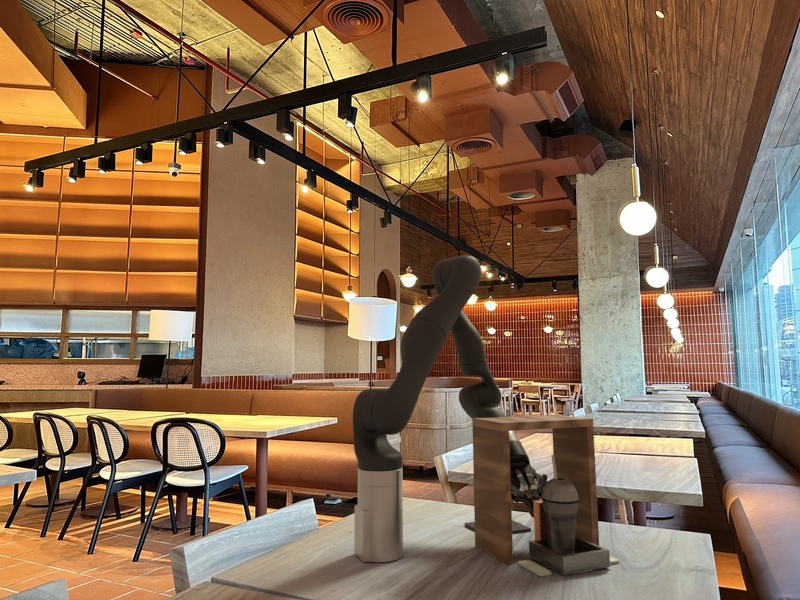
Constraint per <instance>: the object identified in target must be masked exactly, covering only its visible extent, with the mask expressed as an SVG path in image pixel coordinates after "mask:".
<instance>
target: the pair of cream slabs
mask: <svg viewBox="0 0 800 600" xmlns="http://www.w3.org/2000/svg"><path fill="white" fill-rule="evenodd" d="M620 563H621V561H620V559H617V558H615V557H614V556H611V555H610V566H611V565H614V564H615V565H616V564H620ZM517 564H518V565H519V566H521V567H523V568H525V569H526V570H528V571H530V572H531V573H533V574H535V575H537V576H539V577H545V576H551V575H552V571H551V570H549V569H547V568H545V567H543V566H541V565H539V564H537V563H536V562H534V561H532V560H530V559H524V560H518V562H517Z"/></svg>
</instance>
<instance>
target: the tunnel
mask: <svg viewBox="0 0 800 600" xmlns="http://www.w3.org/2000/svg"><path fill="white" fill-rule="evenodd" d="M471 420H472V457H473V461H472V463H473V464H472V467H473V505H474V506H473V509H474V510H473V511H474V522H475V531H474V546H475V547H476V548H478V549H479V550H481V551H483V552H485V553H487V554H488V555H490V556H492V557H494V558H495V559H497V560H499V561H500V562H502V563H504V564H505V565H508V564H513V563H514V555H513V554H514V550H513V548H514V547H513V546H514V545H513V543H514V542H513V534H512V520H513V517H512V516H513V515H512V514H513V512H512V511H513V510H512V499H511V478H510V445H509V431H514V432H515V431H516V432H517V431H529V430H531V431H532V430H551V429H552V452H553V453H552V454H553V455H554V459H555V466H556V473H557V478H564V479H566V480H568V481H570V482H571V483H572V484H573V486H574V487H575V489H576V491H577V494H578V499H579V502H578V510H577V515H576V534H575V536H576V537H579V538H581V539H584V540H586V541H589V542H591V543H593V544H596V545H598V546H600V534H599V532H600V531H599V512H598V511H599V510H598V495H597V493H598V492H597V474H596V471H597V470H596V455H595V450H596V449H595V435H594V433H595V431H594V418H589V417H581V416H570V415H562V414H547V415H546V414H545V415H544V414H542V415H541V414H540V415H524V416H523V415H521V416H519V415H518V416H506V417H494V418H471ZM554 478H555V477H554Z"/></svg>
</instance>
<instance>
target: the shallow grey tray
mask: <svg viewBox="0 0 800 600" xmlns="http://www.w3.org/2000/svg"><path fill="white" fill-rule="evenodd" d="M533 502H534V518H533V521H534V522H533V523H534V524H533V525H534V529H533V530H534V539H533V540H528V551H529V553H528V555H529V558H530V559H533V560H534V561H537V562H539V563H540V564H543V565H545V566H546V567H548V568H550V569H552V570H554V571H556V572H557V573H560V574H561V575H563V576H564V575H570V574H571V575H572V574H576V573H582V572H588V571H594V570H599V569H605V568H611V565H610V556H611V555H610V549H608V548H605V547H603V546H601V545H599V546H598V545H596V544H593V543H591V542H589V541H586V540H584V539H581V538H579V537H576V536H575V553H574V554H570V555H562V554H560V553H558V552H556V551H553V550H551V549H549V548H548V540H547V530H546V521H545V512H544V508H543V503H542V499H540V500H537V501H533Z"/></svg>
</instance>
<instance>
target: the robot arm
mask: <svg viewBox="0 0 800 600" xmlns="http://www.w3.org/2000/svg"><path fill="white" fill-rule="evenodd" d="M481 275H482V269H481V264H480V262H479V261H478V260H477V258H476V257H474V256H472V255H458V256H456V257H455V256H454V257H451V258H446V259H443V260H439V261H438V262H436V263H435V264H434V267H433V269H432V281H433V284H434V289H435V291H436V294H437V296H435V298H433V299H432V300H431V301H429V302H428V303H427V304H425V305H424V306H423V307H422V308H421V309H420V310H419V311H418V312H416V314H415V315H414V316H413V318H412V319H411V321H410V322H409V324H408V326H407V327H406V329H405V331H404V332H403V335H402V337H401V338H400V345H399V346H400V348H399V349H400V359H401V367H400V369H399V371H398V373H397V376H396V377H395V379H394V381H393V382H392V384H391V385H390V386H389V387H388V388H367V389H364V390H362V391H361V392H360V393H358V395H357V396H356V398H355V400H354V403H353V404H354V405H353V409H352V432H353V434H352V435H353V451H354V454H355V457H356V460H357V504H355V505H354V542H353V543H354V544H353V545H354V546H353V547H354V555H355V556H357V558H359V559H360V560H361V562H363V563H367V562H369V563H371V562H372V563H387V562H392V561H396V560H399V559H400V558H402V557H403V555H404V515H403V514H404V509H403V506H404V505H403V503H404V502H403V501H404V498H403V497H404V495H403V494H404V493H403V492H404V490H403V488H404V487H403V482H404V479H403V455H402V453H401V452H400V451H399V450H397V449H396V448H395V447H394V446H392V445H391V443H390V442H389V440H388V436H394V435H398V434H400V433H402V432H403V430H405V428H406V427H407V426H408V424H409V421H410V419H411V418H412V415H413V413H414V410H415V408H416V404H417V402H418V399H419V397H420V394H421V392H422V389H423V387H424V384H425V382H426V380H427V378H428V376H429V374H430V371H431V370H432V367H433V366H434V364H435V361H436V359H437V357H438V356H439V354H440V353H441V351H442V349H443V347H444V345H445V343H446V341H447V339H448V336H449V334H450V332H451V334H452V338H453V341H454V342H453V343H454V346H455V350H456V355H457V359H458V365H459V369H460V372H461V374H462V375H463V376H465V377H475V376H477V377H480V379H481V381H480V382H477V383H474V384H473V383H472V384H469V385H464V386H463V387H462V388H461V389H460V390H459V393H458V401H459V404H460V406H461V408H462V409H463V411H464V412H465V413H466V415H468V417H469V418H470V419H472V418H494V417H507V416H506V414H505V412H504V411H502V410H501V409H500V408H497V407H499V405H500V404H501V402H502V391H501V389H500V387H499V386H498V383H497V382H496V380H495V379H494V376H493V374H492V372H491V369H490V367H489V365H488V361H487V356H486V355H487V354H486V351H485V345H484V342H483V339H482V336H481V334H480V333H479V331H478V330H477V328H476V327H475V326H474V324H473V322H471V320H470V319H469V318H468V317H467V315H466V313H465V312H464V310H463V309H464V308H465V306H466V305H467V304H468V302H469V300H470V299H471V297H472V296H473V294H474V293H475V292H476V290H477V288H478V286H479V285H480V282H481V278H482V277H481ZM509 445H510V478H511V501H513V502H515V503H516V504H519V503H522V504H523V505H524V506H525V507H526V509H527V511H528V513H529V515H530V517H531V518H532V519H534V502H533V501H537V500H542V499H541V496H542V491H543V488H544V486H545V484H546V483H547V482H548V478H549V477H548V475H547V474H545V473H543V474H539V473H538V472H536V469H535V468H534V467H533V466H532V465H531V462H530V458H529V456H528V453H527V451H526V450H525V447H524V446H523V444H522V442H521V440H520V438H519V436H518V435H517V433H516V432H515V431H509Z"/></svg>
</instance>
